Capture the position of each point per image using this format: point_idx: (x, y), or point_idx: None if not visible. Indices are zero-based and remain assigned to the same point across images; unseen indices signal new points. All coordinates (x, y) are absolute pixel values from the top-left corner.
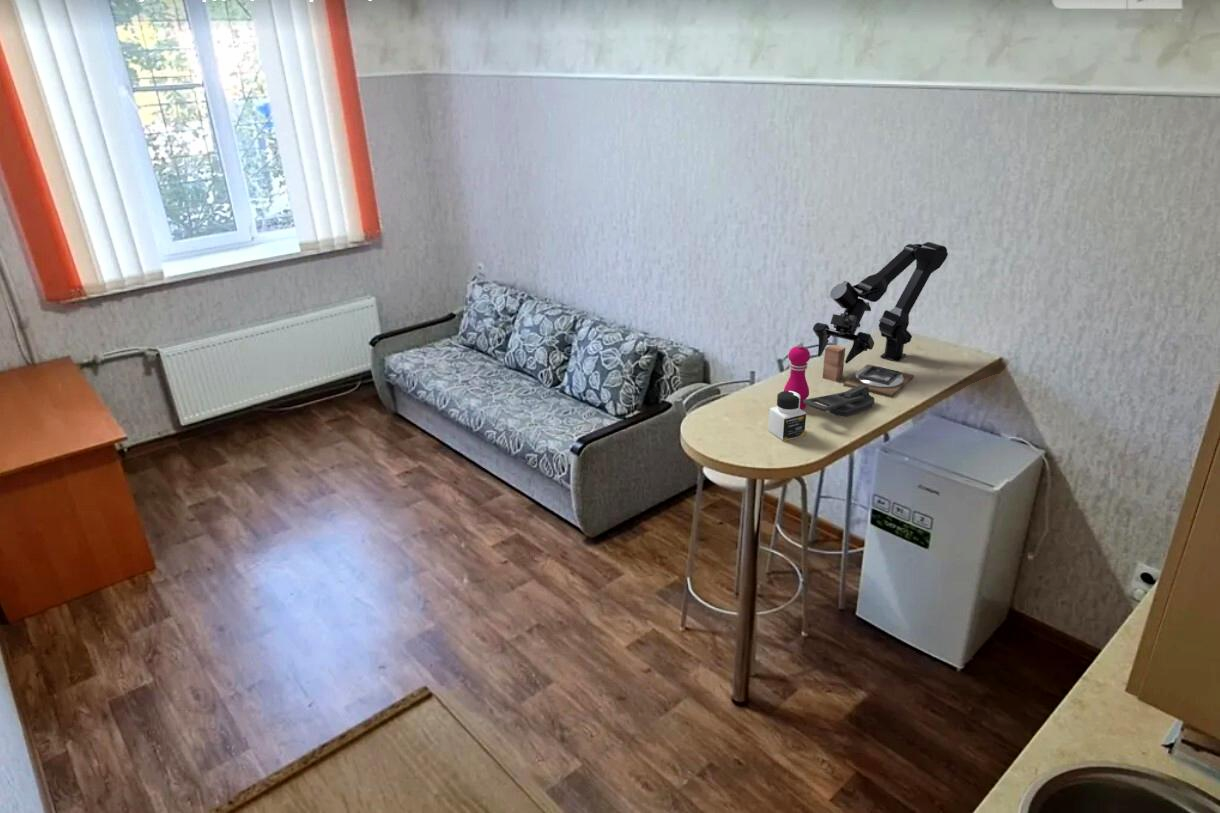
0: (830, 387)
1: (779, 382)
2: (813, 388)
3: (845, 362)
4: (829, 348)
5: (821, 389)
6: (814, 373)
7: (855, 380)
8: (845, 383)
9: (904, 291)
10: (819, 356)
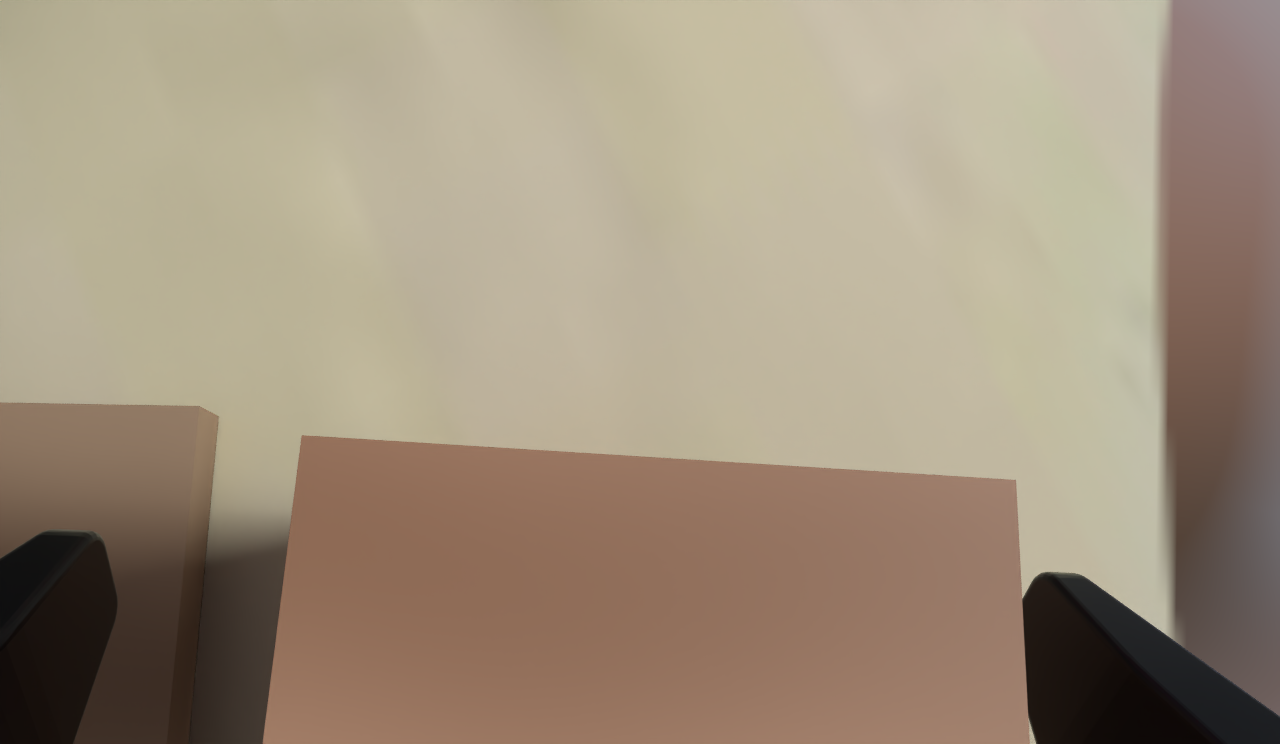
0: (399, 238)
1: (1086, 37)
2: (612, 74)
3: (91, 541)
4: (872, 603)
5: (493, 98)
6: None
7: None
8: (165, 408)
9: None
10: None
